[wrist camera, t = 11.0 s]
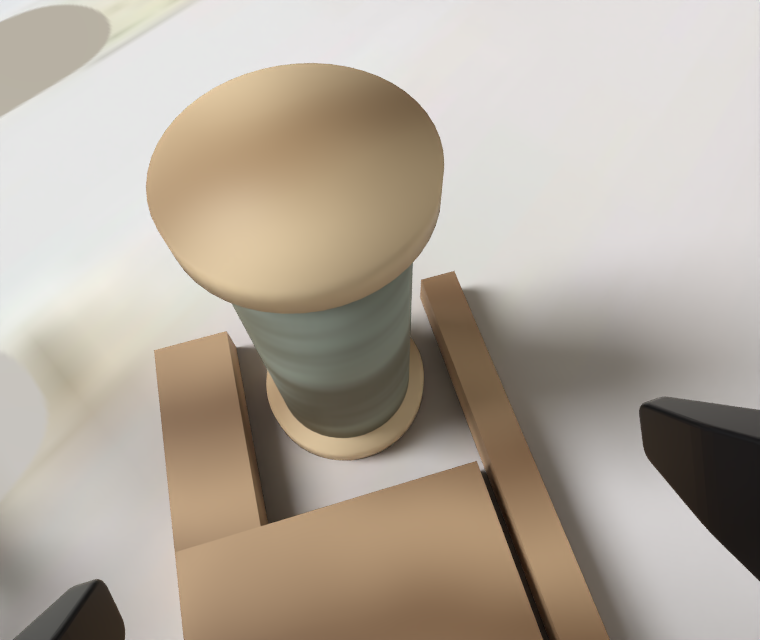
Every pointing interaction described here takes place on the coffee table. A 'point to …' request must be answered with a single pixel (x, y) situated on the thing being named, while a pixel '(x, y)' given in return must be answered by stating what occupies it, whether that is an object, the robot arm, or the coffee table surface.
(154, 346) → the coffee table surface
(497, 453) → the wooden plank structure
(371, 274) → the cord spool
